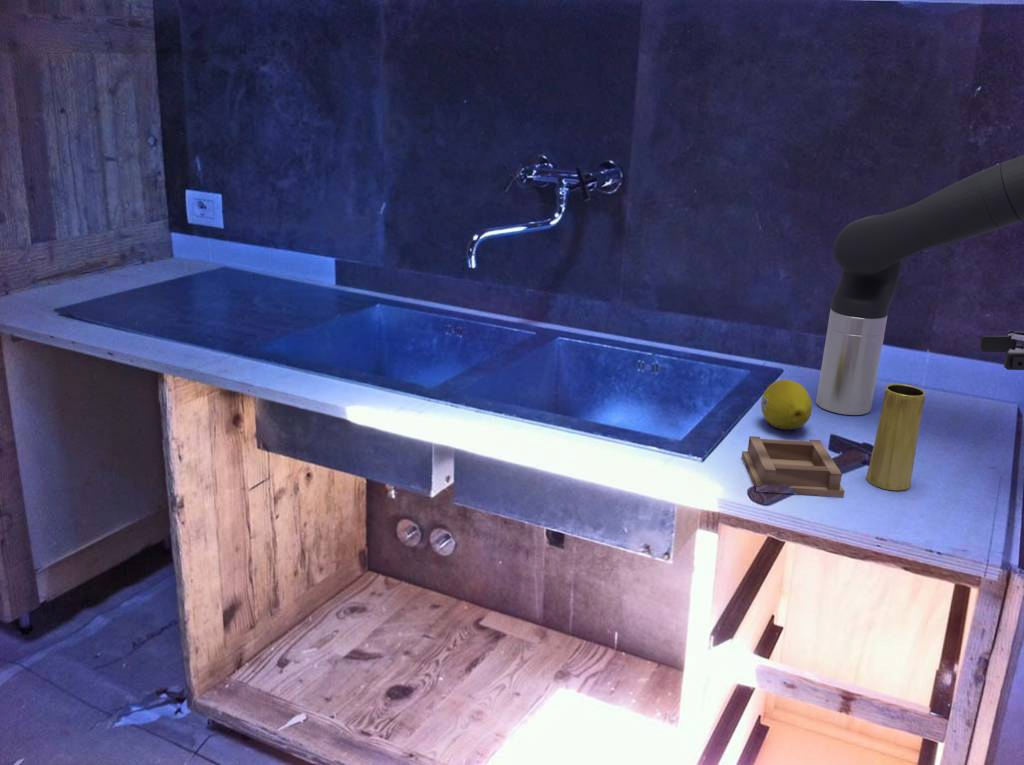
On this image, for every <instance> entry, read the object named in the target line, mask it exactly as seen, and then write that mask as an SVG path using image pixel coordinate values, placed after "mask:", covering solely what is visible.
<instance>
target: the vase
mask: <svg viewBox="0 0 1024 765" xmlns="http://www.w3.org/2000/svg"><path fill="white" fill-rule="evenodd" d="M925 400H926V392H925V390H923V389H922V388H920V387H918V386H914V385H910V384H905V383H891V384H890V383H889V384H887V385H886V386H885V389H884V395H883V401H882V406H881V412H880V416H879V421H878V427H877V430H876V434H875V435H876V436H875V440H874V444H873V447H872V448H873V449H872V451H871V456H870V460H869V465H868V470H867V472H866V475H865V478H866V480H867V482H868V483H869V484H871V485H873V486H875V487H877V488H880V489H883V490H886V491H893V492H894V491H896V492H899V491H905V490H908V489H910V488H911V486H912V477H913V473H914V472H913V471H914V464H915V458H916V451H917V445H918V444H917V443H918V438H919V433H920V432H919V431H920V427H921V420H922V417H923V411H924V405H925Z"/></svg>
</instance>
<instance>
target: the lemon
mask: <svg viewBox="0 0 1024 765" xmlns="http://www.w3.org/2000/svg"><path fill="white" fill-rule="evenodd" d="M760 407H761V412H762V414H763V415H762V416H763V417H764V419H765V420H766V422H768V423H769V425H771V426H772V427H774V428H776V429H780V430H795V429H799V428H801V427H802V426H804V425H805V424H806V423H807V422H808V421H809V419H810V418H811V416H812V409H813V403H812V399H811V397H810V395H809V392H808V391H807V389H806V388H805V387H804V386H803V384H800V383H798V382H796V381H794V380H790V379H781V380H780V379H779V380H777V381H774V382H772V383H771V384H769V385H768V386H767V388H766V389H765V390H764V391H763V394H762V397H761V402H760Z"/></svg>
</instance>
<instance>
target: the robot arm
mask: <svg viewBox="0 0 1024 765" xmlns="http://www.w3.org/2000/svg"><path fill="white" fill-rule="evenodd" d="M1023 221H1024V154H1023V155H1020V156H1017V157H1014V158H1012V159H1009V160H1006V161H1003V162H1001V163H997V164H996V165H992V166H990V167H987V168H986V169H983V170H980V171H977V172H976V173H974V174H973V173H972V174H971V175H969V176H967V177H964V178H963V179H960V180H958V181H955V182H954V183H952V184H950V185H948V186H946V187H944V188H942V189H940V190H939V191H936V192H934V193H932V194H931V195H929V196H928V197H927V196H926V197H925V198H924V199H921V200H919V201H918V202H915V203H912V204H911V205H907V206H905V207H902V208H899V209H896V210H893V211H889V212H887V213H883V214H875V215H874V214H872V215H869V216H864V217H861V218H859V219H856V220H854V221H852V222H850V223H848V224H847V225H846V226H844V227H843V228H842V230H841V231H840V232H839V234H838V235H837V237H836V239H835V241H834V245H833V258H834V260H835V262H836V263H837V264H838V266H839V267H840V268H841V269H842V273H841V276H840V280H839V283H838V284H837V286H836V289H835V290H834V292H833V294H832V297H831V303H830V311H829V317H828V322H827V323H828V324H827V330H826V336H825V342H824V343H825V344H824V349H823V356H822V362H821V368H820V375H819V379H818V380H819V381H818V386H817V392H816V399H815V403H816V405H817V406H819V408H822V409H823V410H826V411H828V412H831V413H835V414H840V415H847V416H849V415H850V416H860V415H861V416H862V415H866V414H869V413H870V412H871V411H872V406H873V400H874V396H875V389H876V384H877V378H878V373H879V367H880V363H881V362H880V361H881V357H882V356H881V355H882V349H883V345H884V338H885V332H886V326H887V321H888V314H889V310H890V305H891V303H892V301H893V298H894V296H895V294H896V290H897V285H898V281H899V276H900V270H901V266H902V262H903V260H904V259H906V258H909V257H911V256H912V255H915V254H917V253H920V252H923V251H925V250H928V249H931V248H934V247H938V246H941V245H945V244H950V243H954V242H959V241H963V240H966V239H971V238H974V237H977V236H980V235H985V234H987V233H990V232H995V231H998V230H1001V229H1003V228H1004V229H1005V228H1006V227H1009V226H1012V225H1014V224H1018V223H1021V222H1023ZM1017 341H1022V343H1017ZM978 349H979V350H980V351H981V352H984V353H986V352H987V353H1005V355H1004V359H1003V360H1004V361H1003V367H1004V368H1005V369H1006V370H1008V371H1024V330H1013V329H1009V330H1007V334H1006V335H992V334H991V335H987V334H986V335H981V336H980V339H979V344H978Z"/></svg>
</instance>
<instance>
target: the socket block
mask: <svg viewBox="0 0 1024 765" xmlns="http://www.w3.org/2000/svg"><path fill="white" fill-rule="evenodd" d="M741 459H742V461H743V464H744V466H745V468H746V470H747V473H748V475H749V477H750V481H751V482H752V486H753V487H754V486H760V485H774V484H786V485H787V484H788V485H792V486H790V487H789V488H791V489H793V490H794V491H795V493H796V494H798V496H814V497H815V496H816V497H829V498H830V497H832V498H833V497H834V498H835V497H836V498H844V496H845V489H844V487H843V485H842V484H841V482H842V476H843V473H842V471H841V470H840V468H839V467H838V466H837V465H836V462H835V461H834V459H833V458H832V457H831V455H830V453H829V451H828V450H827V449H826V447H825V445H824V444H823V442H822V441H821V440H820V439H809V440H807V441H806V440H790V439H788V440H787V439H775V438H774V439H771V438H761V437H760V436H751V435H749V436H748V445H747V451H745V450H743V451H742V452H741Z"/></svg>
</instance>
